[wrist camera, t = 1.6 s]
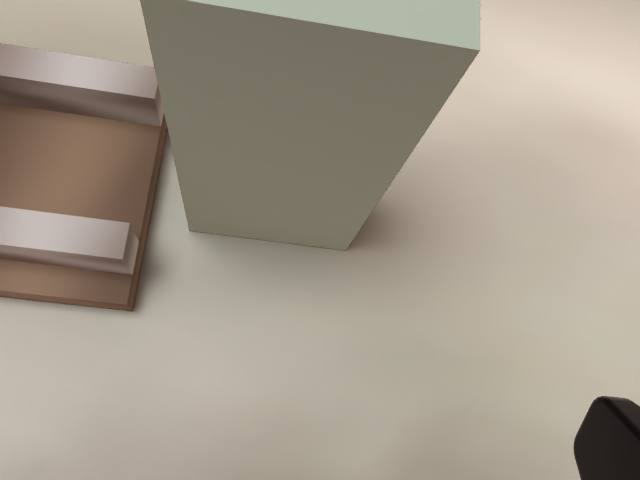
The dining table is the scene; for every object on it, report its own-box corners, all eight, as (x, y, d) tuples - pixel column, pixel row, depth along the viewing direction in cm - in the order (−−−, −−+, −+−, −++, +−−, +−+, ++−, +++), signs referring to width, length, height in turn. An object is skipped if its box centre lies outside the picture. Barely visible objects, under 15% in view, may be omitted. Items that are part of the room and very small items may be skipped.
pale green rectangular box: (350, 191, 24) (480, -61, 11) (345, 250, 23) (479, 50, 11) (199, 170, 23) (163, -121, 11) (189, 230, 22) (138, -8, 10)
